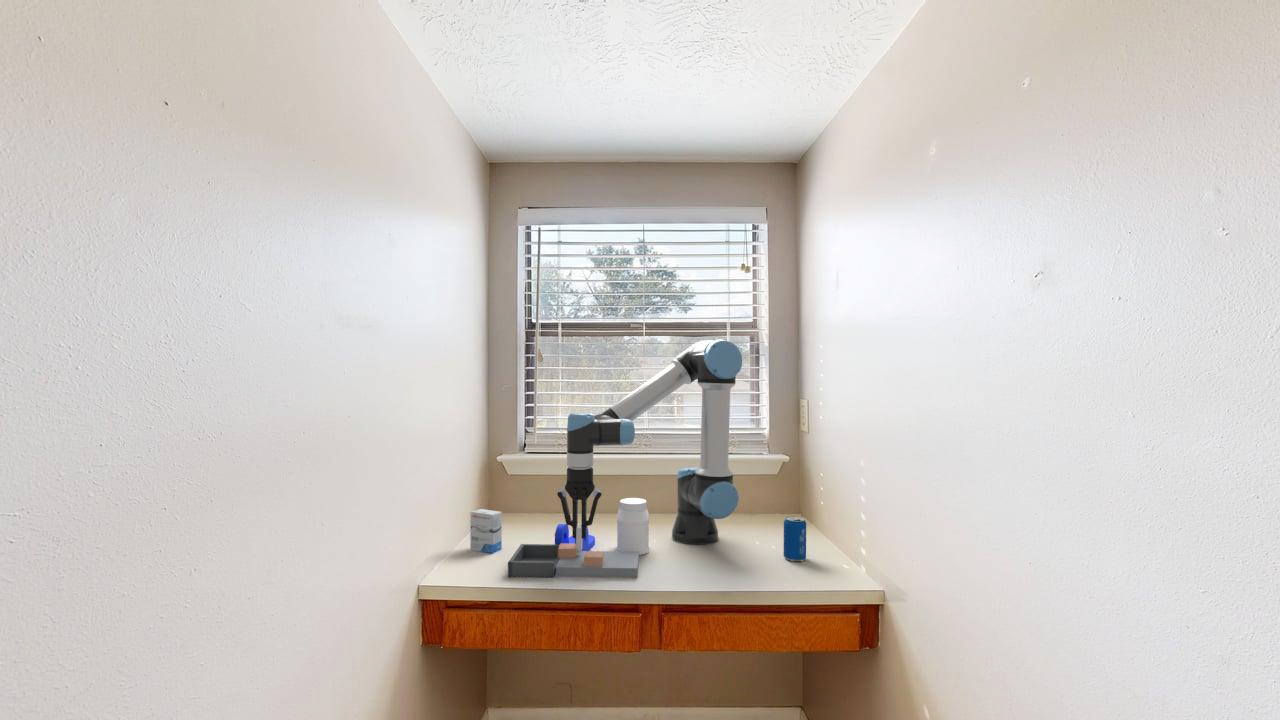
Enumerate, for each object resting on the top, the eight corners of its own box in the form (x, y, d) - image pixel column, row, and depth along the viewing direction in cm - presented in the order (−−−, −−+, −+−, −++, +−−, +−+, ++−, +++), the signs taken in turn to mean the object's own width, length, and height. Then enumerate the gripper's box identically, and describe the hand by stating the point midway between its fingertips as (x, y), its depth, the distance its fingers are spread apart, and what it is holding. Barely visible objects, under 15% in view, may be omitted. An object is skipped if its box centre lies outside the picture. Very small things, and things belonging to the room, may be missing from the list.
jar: (648, 555, 181) (649, 505, 181) (616, 555, 181) (617, 505, 181) (648, 543, 193) (648, 496, 193) (617, 543, 193) (618, 496, 193)
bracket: (581, 559, 178) (581, 529, 178) (554, 557, 179) (554, 527, 179) (598, 541, 195) (598, 513, 195) (573, 539, 197) (573, 512, 197)
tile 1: (577, 552, 176) (577, 543, 176) (575, 557, 171) (575, 548, 171) (560, 551, 176) (560, 543, 176) (558, 557, 171) (558, 548, 171)
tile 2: (603, 560, 169) (604, 551, 169) (602, 566, 164) (602, 557, 164) (586, 560, 169) (586, 551, 169) (584, 566, 164) (584, 557, 164)
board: (638, 560, 177) (638, 551, 177) (637, 577, 163) (637, 568, 163) (563, 559, 177) (563, 550, 177) (555, 576, 163) (555, 567, 163)
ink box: (502, 549, 186) (502, 511, 186) (492, 554, 182) (492, 514, 182) (480, 545, 190) (480, 508, 190) (469, 550, 185) (469, 511, 185)
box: (562, 558, 178) (563, 544, 178) (554, 577, 162) (554, 562, 162) (521, 557, 179) (521, 544, 179) (507, 577, 163) (508, 562, 163)
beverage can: (793, 564, 174) (794, 522, 174) (778, 557, 180) (779, 517, 180) (810, 560, 177) (811, 519, 177) (795, 554, 183) (795, 514, 183)
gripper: (603, 465, 177) (603, 545, 177) (559, 464, 177) (558, 545, 177) (601, 469, 170) (600, 553, 170) (555, 469, 170) (554, 553, 170)
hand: (579, 549), depth 174 cm, fingers closed
